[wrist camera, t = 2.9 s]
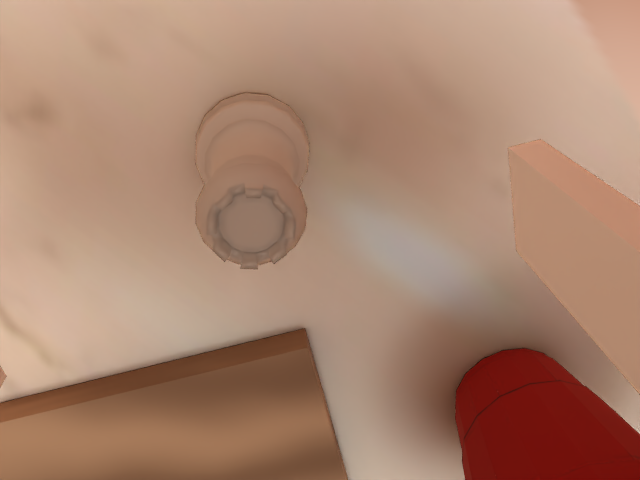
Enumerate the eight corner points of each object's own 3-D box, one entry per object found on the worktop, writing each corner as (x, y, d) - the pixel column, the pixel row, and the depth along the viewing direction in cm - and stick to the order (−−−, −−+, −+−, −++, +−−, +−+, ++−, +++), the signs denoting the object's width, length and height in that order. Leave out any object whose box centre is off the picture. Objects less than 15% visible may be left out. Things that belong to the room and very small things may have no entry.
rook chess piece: (273, 68, 23) (282, 122, 15) (327, 166, 24) (357, 254, 17) (173, 125, 23) (135, 202, 16) (233, 216, 25) (225, 322, 18)
